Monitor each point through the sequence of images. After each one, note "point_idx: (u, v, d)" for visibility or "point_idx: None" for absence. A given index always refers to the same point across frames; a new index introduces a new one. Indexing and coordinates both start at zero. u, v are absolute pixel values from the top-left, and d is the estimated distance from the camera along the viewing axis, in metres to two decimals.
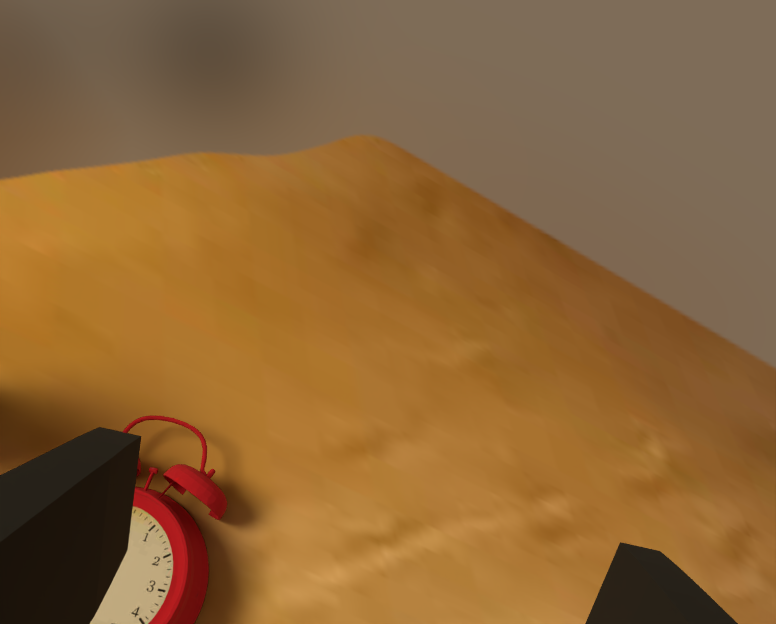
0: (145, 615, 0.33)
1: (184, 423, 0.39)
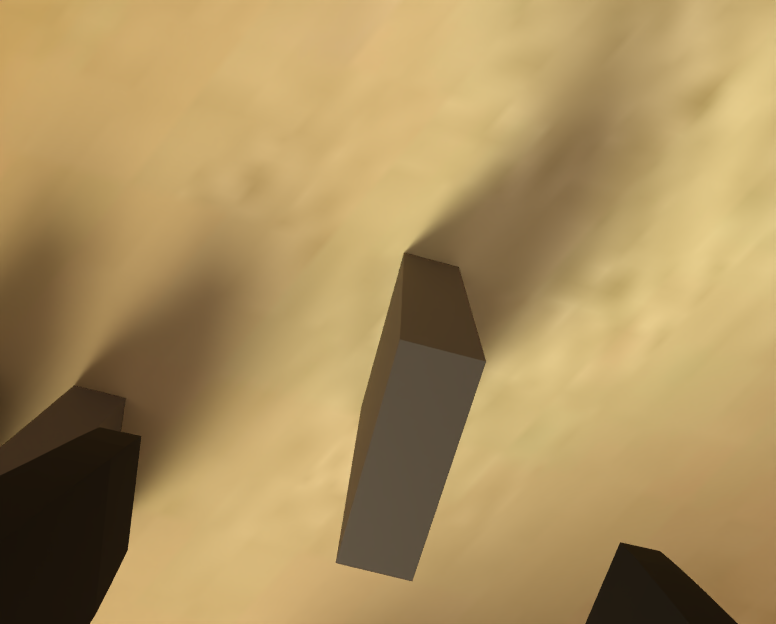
0: None
1: None
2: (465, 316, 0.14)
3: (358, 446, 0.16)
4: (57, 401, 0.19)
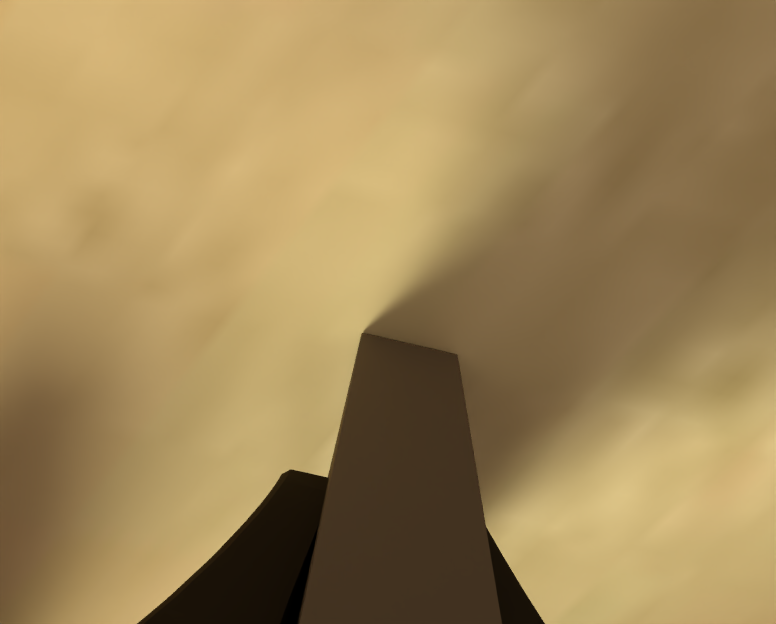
0: None
1: None
2: (469, 535, 0.06)
3: None
4: None
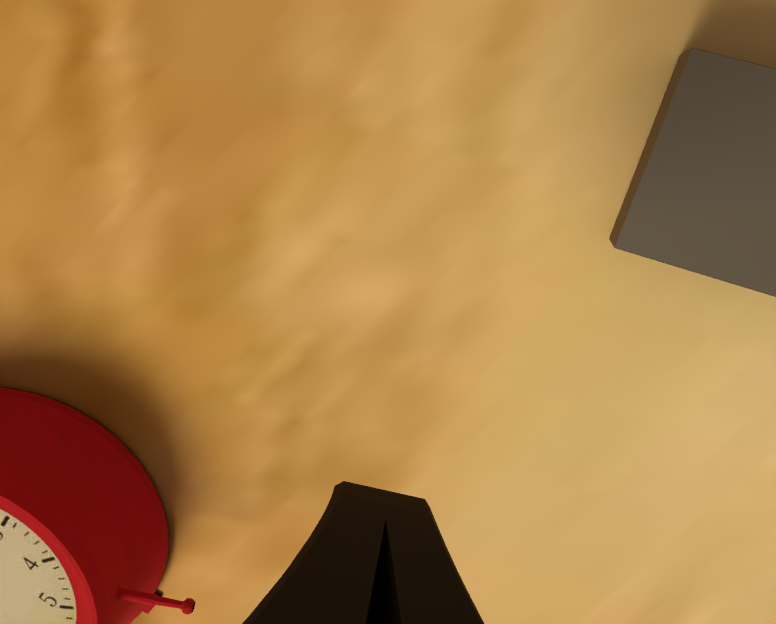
0: (41, 552, 0.18)
1: None
2: None
3: None
4: None
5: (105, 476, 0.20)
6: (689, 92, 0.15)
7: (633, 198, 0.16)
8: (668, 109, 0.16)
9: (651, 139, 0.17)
